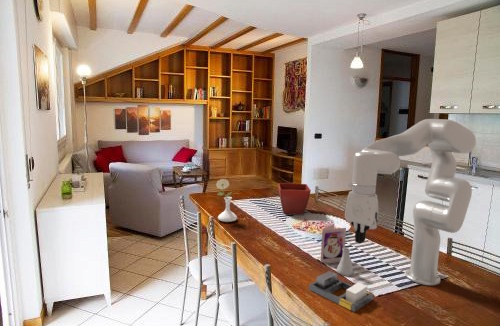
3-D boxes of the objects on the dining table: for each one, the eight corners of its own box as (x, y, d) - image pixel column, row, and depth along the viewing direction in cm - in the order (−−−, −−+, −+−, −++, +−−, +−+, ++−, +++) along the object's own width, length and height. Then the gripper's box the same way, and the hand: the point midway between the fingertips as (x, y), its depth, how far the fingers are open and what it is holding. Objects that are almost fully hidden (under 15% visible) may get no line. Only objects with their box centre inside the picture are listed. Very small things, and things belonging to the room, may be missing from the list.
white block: (357, 295, 126) (358, 282, 125) (366, 299, 123) (367, 286, 123) (345, 303, 121) (346, 289, 120) (354, 307, 118) (355, 293, 117)
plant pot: (309, 216, 219) (311, 190, 216) (279, 215, 219) (280, 189, 216) (305, 208, 238) (306, 183, 235) (277, 207, 238) (278, 183, 235)
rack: (328, 279, 137) (328, 267, 136) (372, 299, 123) (374, 286, 122) (308, 289, 129) (309, 276, 128) (354, 312, 115) (355, 298, 114)
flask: (340, 266, 149) (342, 244, 147) (356, 271, 144) (358, 248, 143) (332, 272, 143) (334, 249, 142) (349, 278, 139) (351, 254, 137)
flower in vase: (238, 218, 211) (239, 177, 208) (235, 224, 200) (236, 181, 196) (217, 216, 213) (217, 176, 209) (213, 222, 201) (213, 180, 198)
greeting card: (321, 263, 151) (323, 230, 149) (313, 256, 158) (315, 224, 156) (344, 260, 154) (347, 228, 152) (336, 254, 162) (338, 223, 159)
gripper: (337, 186, 118) (334, 238, 121) (379, 195, 107) (374, 251, 110) (350, 183, 123) (346, 233, 126) (390, 191, 112) (386, 245, 115)
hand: (359, 241), depth 118 cm, fingers closed
